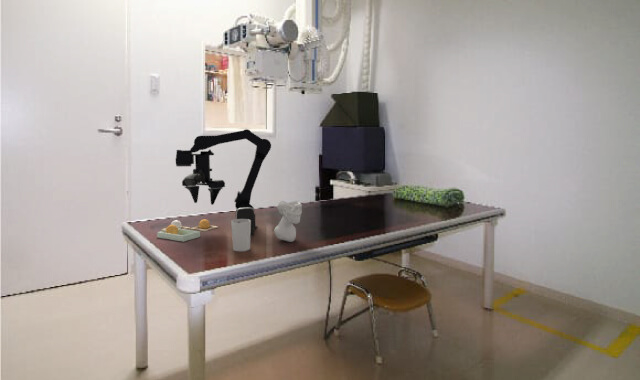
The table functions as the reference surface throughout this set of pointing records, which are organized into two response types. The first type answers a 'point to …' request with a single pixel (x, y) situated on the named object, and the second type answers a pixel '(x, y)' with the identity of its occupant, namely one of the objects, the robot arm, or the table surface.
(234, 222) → the drinking glass
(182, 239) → the green dish
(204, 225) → the orange ball
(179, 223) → the white ball
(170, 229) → the orange ball
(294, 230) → the white figurine
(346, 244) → the table surface
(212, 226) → the collar
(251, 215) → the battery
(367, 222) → the table surface
